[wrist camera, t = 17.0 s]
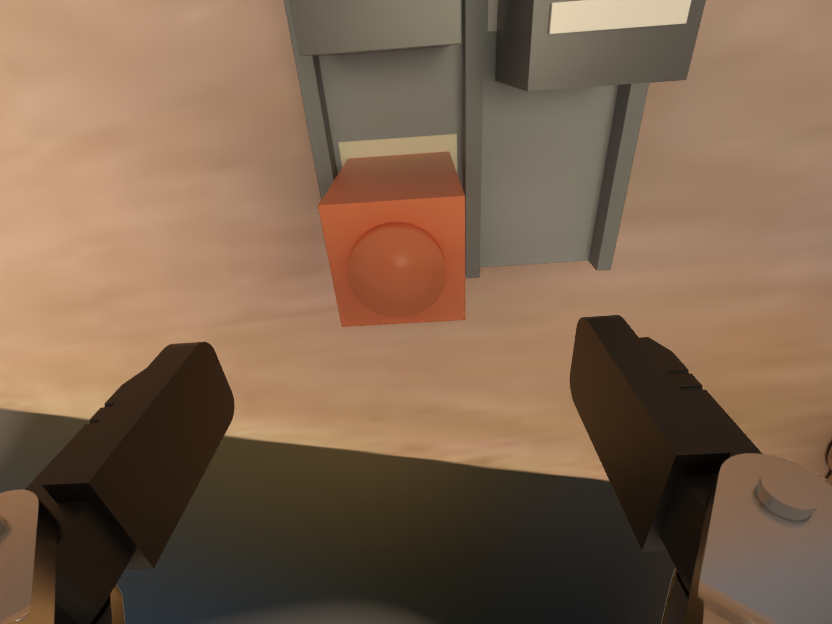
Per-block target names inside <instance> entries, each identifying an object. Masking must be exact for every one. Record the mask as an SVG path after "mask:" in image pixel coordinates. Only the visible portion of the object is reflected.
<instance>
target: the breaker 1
mask: <svg viewBox="0 0 832 624" xmlns="http://www.w3.org/2000/svg"><path fill="white" fill-rule="evenodd" d="M289 5H290V11H291V16H292V21H293V27H294V32H295V38H296V43H297V49H298V54H299V56H333V55H346V54H359V53H371V52H384V51H397V50H410V49H423V48H436V47H448V46H452V45H456V44H460V43H461V0H289Z"/></svg>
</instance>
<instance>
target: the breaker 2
mask: <svg viewBox="0 0 832 624" xmlns="http://www.w3.org/2000/svg"><path fill="white" fill-rule="evenodd" d="M705 1H706V0H498V13H497V44H496V75H495V81H497V82H500V83H503V84H506V85H509V86H512V87H515V88H518V89H521V90H524V91H527V92H529V91H542V90H556V89H569V88H583V87H596V86H610V85H623V84H637V83H650V82H664V81H678V80H686V79H687V74H688V70H689V66H690V62H691V58H692V54H693V50H694V46H695V42H696V38H697V34H698V30H699V26H700V22H701V18H702V14H703V9H704V5H705Z"/></svg>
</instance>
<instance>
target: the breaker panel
mask: <svg viewBox="0 0 832 624" xmlns="http://www.w3.org/2000/svg"><path fill="white" fill-rule="evenodd" d="M284 4H285V9H286V15H287V20H288V25H289V30H290V36H291V41H292V46H293V52H294V57H295V62H296V68H297V73H298V78H299V83H300V89H301V94H302V99H303V105H304V110H305V115H306V120H307V126H308V131H309V136H310V142H311V147H312V152H313V158H314V163H315V168H316V173H317V179H318V184H319V189H320V195H321V200H322V199H323V197H324V196H325V194H326V192H327V191H328V189H329V188H330V186H331V185H332V183H333V182H334V180H335V178H336V177H337V175H338V174H339V172H340V171H341V169H342V167H343V166H344V164H345V163H346V161H347V160H348V158H362V157H376V156H390V155H405V154H419V153H433V152H447V151H449V152H450V155H451V158H452V161H453V164H454V166H455V169H456V172H457V175H458V178H459V180H460V183H461V186H462V189H463V192H464V194H465V276H466V278H479V277H480V267H494V266H510V265H527V264H543V263H560V262H576V261H589V262H590V263H591V264H592V265H593V267H594V268H595V269H596V270H611V266H612V261H613V256H614V251H615V246H616V241H617V236H618V232H619V227H620V222H621V217H622V212H623V207H624V202H625V197H626V193H627V188H628V183H629V178H630V173H631V168H632V163H633V158H634V154H635V149H636V144H637V139H638V134H639V129H640V124H641V120H642V115H643V110H644V105H645V100H646V95H647V90H648V85H649V83H637V84H623V85H610V86H596V87H583V88H569V89H556V90H542V91H529V92H527V91H524V90H521V89H518V88H515V87H512V86H509V85H506V84H503V83H500V82H497V81H495V75H496V44H497V13H498V0H461V43H460V44H456V45H452V46H448V47H436V48H423V49H410V50H397V51H384V52H371V53H359V54H346V55H333V56H299V54H298V49H297V43H296V38H295V32H294V27H293V21H292V16H291V11H290V5H289V0H284Z"/></svg>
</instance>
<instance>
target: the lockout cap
mask: <svg viewBox="0 0 832 624" xmlns="http://www.w3.org/2000/svg"><path fill="white" fill-rule="evenodd" d="M318 207H319V212H320V218H321V223H322V228H323V233H324V238H325V243H326V248H327V253H328V258H329V264H330V269H331V274H332V279H333V284H334V289H335V294H336V299H337V305H338V310H339V315H340V320H341V325H342V327H347V326H364V325H382V324H399V323H417V322H434V321H452V320H465V194H464V192H463V189H462V186H461V183H460V180H459V178H458V175H457V172H456V169H455V166H454V164H453V161H452V158H451V155H450V152H449V151H447V152H433V153H419V154H405V155H390V156H376V157H362V158H348V160H347V161H346V163H345V164H344V166H343V167H342V169H341V171H340V172H339V174H338V175H337V177H336V178H335V180H334V182H333V183H332V185H331V186H330V188H329V189H328V191H327V192H326V194H325V196H324V197H323V199H322V200H321V202H320V203H319V205H318Z"/></svg>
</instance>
